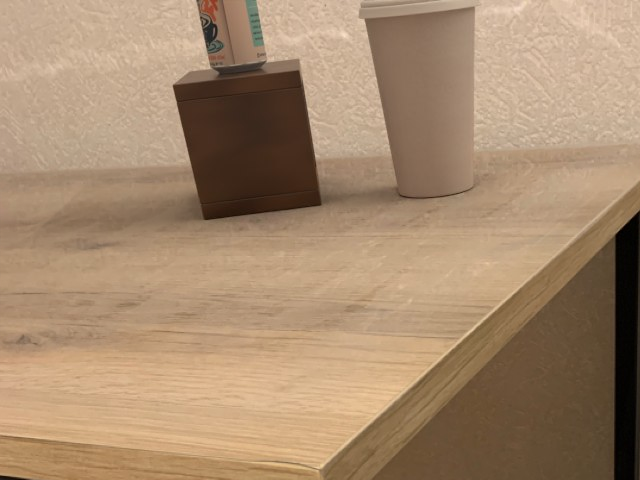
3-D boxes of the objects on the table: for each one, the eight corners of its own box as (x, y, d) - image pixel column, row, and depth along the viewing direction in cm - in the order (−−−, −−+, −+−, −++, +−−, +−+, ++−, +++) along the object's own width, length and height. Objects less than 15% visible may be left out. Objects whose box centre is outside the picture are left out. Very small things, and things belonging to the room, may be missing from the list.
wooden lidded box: (203, 219, 76) (172, 84, 70) (215, 191, 87) (188, 71, 81) (321, 204, 77) (299, 69, 71) (318, 178, 87) (299, 58, 82)
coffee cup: (513, 184, 76) (503, -31, 68) (419, 207, 72) (395, -19, 64) (450, 173, 83) (434, -24, 74) (361, 193, 79) (332, -13, 71)
